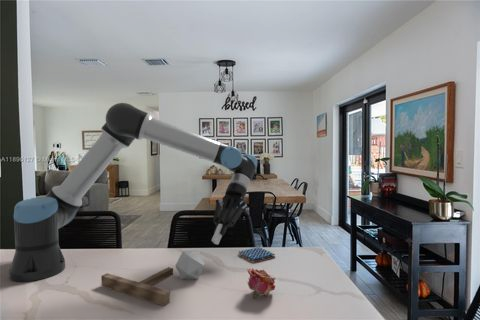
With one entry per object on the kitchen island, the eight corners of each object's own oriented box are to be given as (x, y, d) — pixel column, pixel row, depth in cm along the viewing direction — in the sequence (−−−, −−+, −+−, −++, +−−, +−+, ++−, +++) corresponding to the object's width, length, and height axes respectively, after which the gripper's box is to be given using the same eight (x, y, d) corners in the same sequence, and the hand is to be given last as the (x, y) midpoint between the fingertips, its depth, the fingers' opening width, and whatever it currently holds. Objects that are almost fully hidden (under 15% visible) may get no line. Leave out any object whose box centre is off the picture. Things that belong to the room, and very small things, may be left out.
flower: (262, 303, 75) (274, 274, 78) (234, 287, 80) (246, 261, 82) (272, 308, 82) (282, 281, 85) (245, 294, 87) (256, 269, 90)
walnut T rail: (101, 285, 89) (101, 275, 89) (143, 266, 103) (143, 258, 103) (164, 306, 77) (164, 294, 77) (201, 281, 91) (201, 271, 91)
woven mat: (259, 250, 120) (259, 245, 120) (276, 259, 111) (276, 253, 111) (236, 256, 114) (236, 250, 114) (252, 265, 105) (252, 259, 105)
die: (191, 288, 88) (209, 258, 91) (166, 271, 90) (185, 242, 92) (194, 286, 96) (211, 258, 99) (172, 271, 98) (189, 244, 100)
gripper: (256, 194, 118) (235, 250, 104) (227, 192, 124) (203, 245, 110) (249, 182, 113) (227, 239, 99) (219, 181, 119) (194, 234, 105)
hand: (214, 242), depth 105 cm, fingers closed
